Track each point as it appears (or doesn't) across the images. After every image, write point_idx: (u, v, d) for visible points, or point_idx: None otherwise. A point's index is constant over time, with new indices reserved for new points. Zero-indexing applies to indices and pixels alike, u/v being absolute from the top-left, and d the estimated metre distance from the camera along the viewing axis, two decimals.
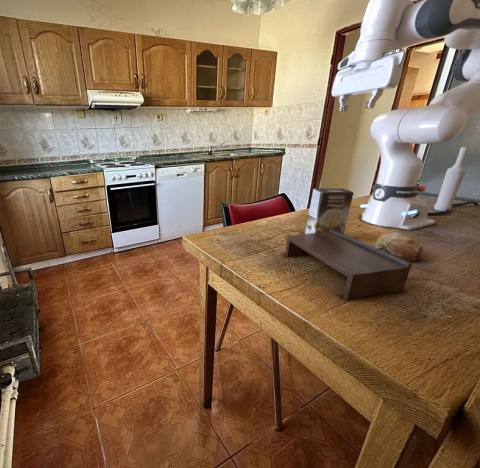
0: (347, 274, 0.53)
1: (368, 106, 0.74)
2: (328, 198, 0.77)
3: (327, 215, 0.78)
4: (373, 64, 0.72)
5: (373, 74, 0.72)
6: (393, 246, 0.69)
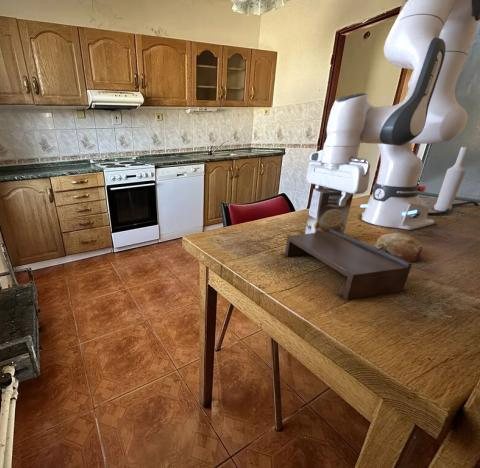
0: (347, 274, 0.53)
1: (339, 204, 0.75)
2: (328, 198, 0.77)
3: (327, 215, 0.78)
4: (341, 167, 0.72)
5: (342, 177, 0.73)
6: (393, 246, 0.69)
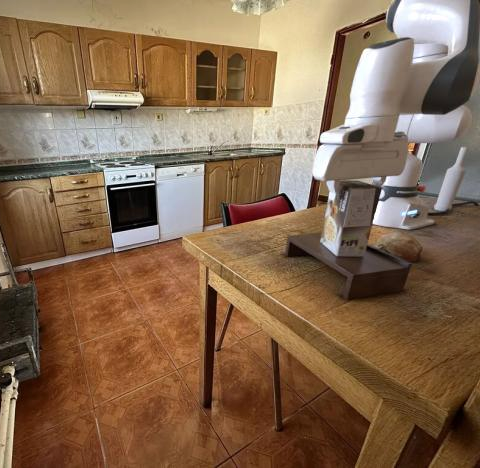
0: (347, 274, 0.53)
1: None
2: None
3: None
4: (386, 146, 0.53)
5: (386, 159, 0.54)
6: (393, 246, 0.69)
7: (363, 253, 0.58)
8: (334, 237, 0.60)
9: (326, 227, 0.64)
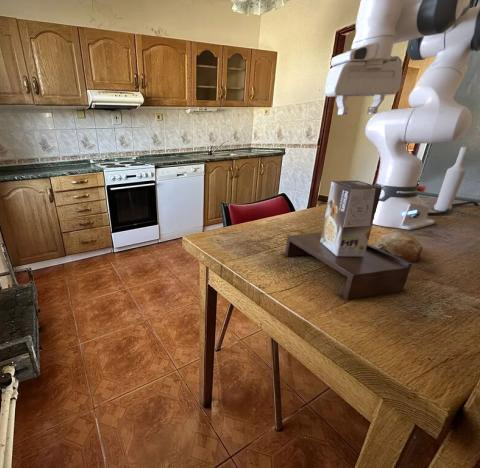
0: (347, 274, 0.53)
1: (375, 112, 0.71)
2: None
3: None
4: (385, 66, 0.66)
5: (384, 78, 0.67)
6: (393, 246, 0.69)
7: (363, 253, 0.58)
8: (334, 237, 0.60)
9: (326, 227, 0.64)
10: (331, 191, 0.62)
